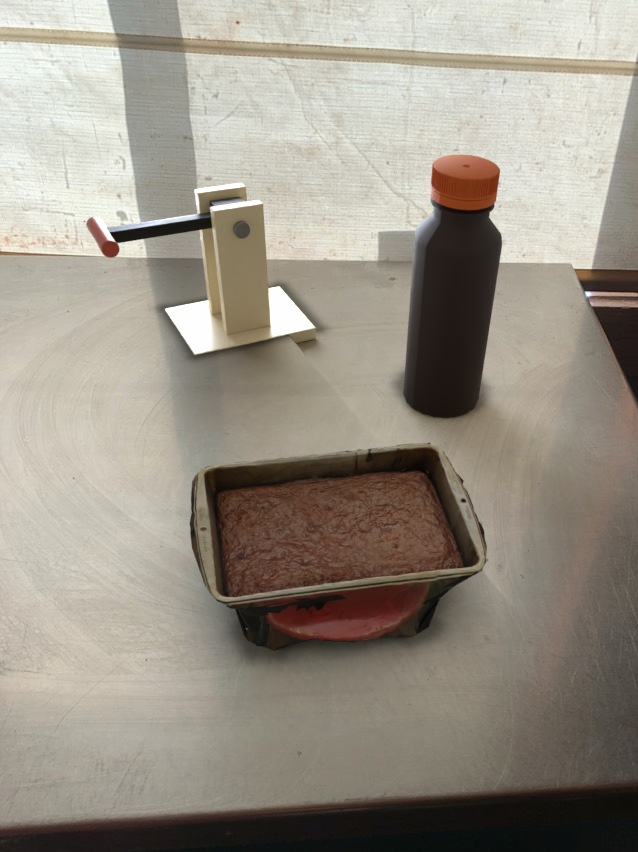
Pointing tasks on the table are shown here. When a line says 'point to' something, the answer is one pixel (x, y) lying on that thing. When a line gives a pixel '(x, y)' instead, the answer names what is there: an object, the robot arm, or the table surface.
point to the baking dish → (335, 542)
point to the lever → (149, 228)
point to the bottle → (452, 288)
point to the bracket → (236, 281)
